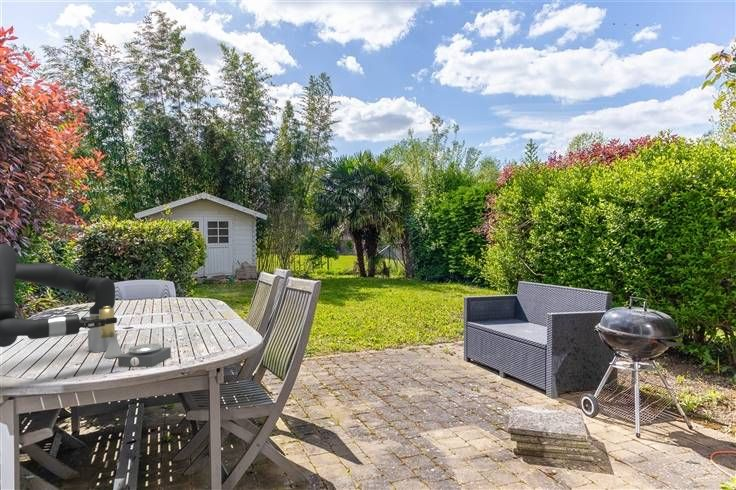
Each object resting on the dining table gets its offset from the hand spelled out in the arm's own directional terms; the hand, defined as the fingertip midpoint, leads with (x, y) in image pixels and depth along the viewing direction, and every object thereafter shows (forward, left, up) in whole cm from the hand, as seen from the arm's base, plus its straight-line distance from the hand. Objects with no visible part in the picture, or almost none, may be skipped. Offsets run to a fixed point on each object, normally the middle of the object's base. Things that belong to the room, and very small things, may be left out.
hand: (114, 319), depth 170 cm
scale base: (+9, +6, -19) cm, 21 cm away
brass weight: (-2, -2, -6) cm, 7 cm away
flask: (-10, +14, -19) cm, 26 cm away
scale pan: (+9, +6, -14) cm, 17 cm away
